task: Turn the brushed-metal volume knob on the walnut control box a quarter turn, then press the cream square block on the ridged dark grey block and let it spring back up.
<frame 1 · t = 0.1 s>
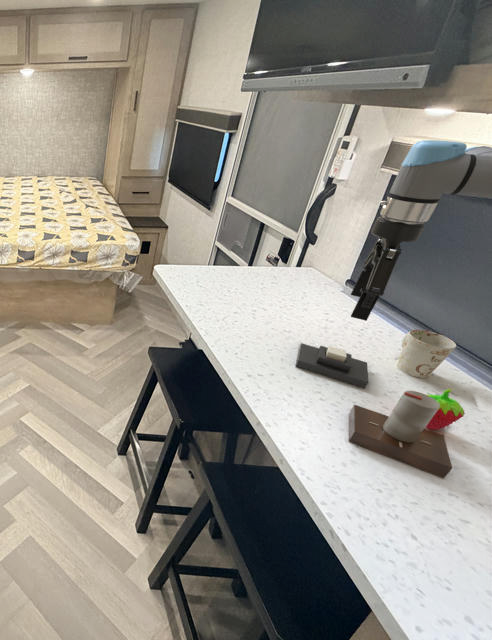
hand: (358, 306, 93), 19 cm above the worktop, tool pointing down, fingers open, 13 cm apart
mug: (406, 366, 104), on the worktop
strawberry: (424, 426, 86), on the worktop
cream square block: (336, 354, 101), point 4 cm above the worktop, slide at 0.1 cm
ridged dark grey block: (329, 368, 103), on the worktop
volume knob: (410, 416, 78), point 8 cm above the worktop, hinge at 0.0°
volume box: (391, 443, 82), on the worktop
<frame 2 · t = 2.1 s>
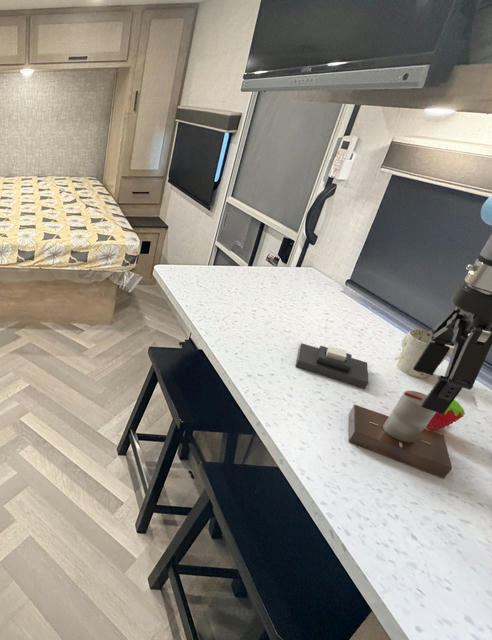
hand: (426, 389, 75), 14 cm above the worktop, tool pointing down, fingers open, 13 cm apart
nothing on the worktop moved.
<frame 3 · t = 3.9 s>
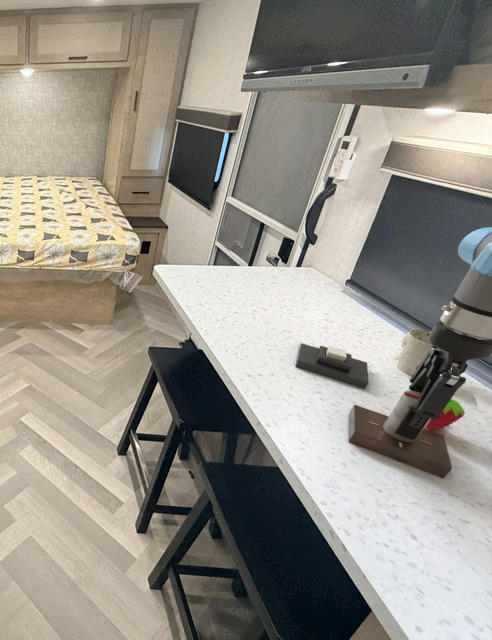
hand: (403, 426, 79), 5 cm above the worktop, tool pointing down, fingers closed on volume knob, 5 cm apart
volume knob: (410, 416, 78), point 8 cm above the worktop, hinge at -0.1°, touching gripper
everything else where it was.
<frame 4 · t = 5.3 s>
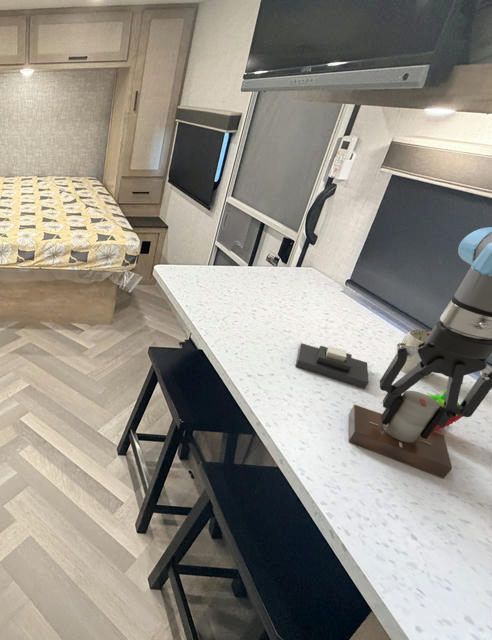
hand: (403, 426, 79), 5 cm above the worktop, tool pointing down, fingers closed on volume knob, 5 cm apart
volume knob: (410, 416, 78), point 8 cm above the worktop, hinge at 90.2°, touching gripper
everything else where it was.
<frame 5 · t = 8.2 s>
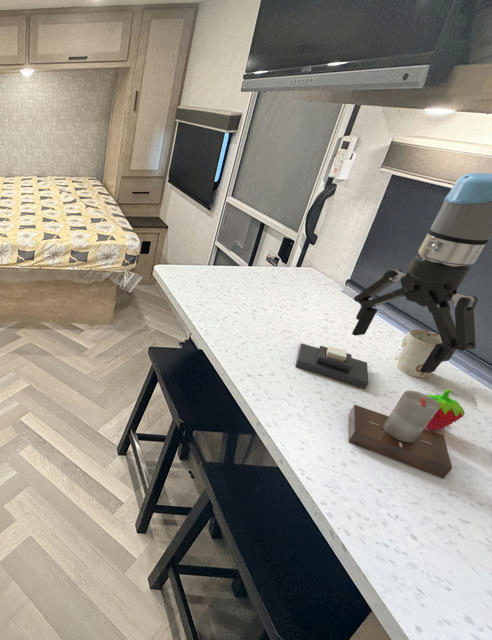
hand: (389, 351, 85), 15 cm above the worktop, tool pointing down, fingers open, 13 cm apart
volume knob: (410, 416, 78), point 8 cm above the worktop, hinge at 89.8°
everything else where it was.
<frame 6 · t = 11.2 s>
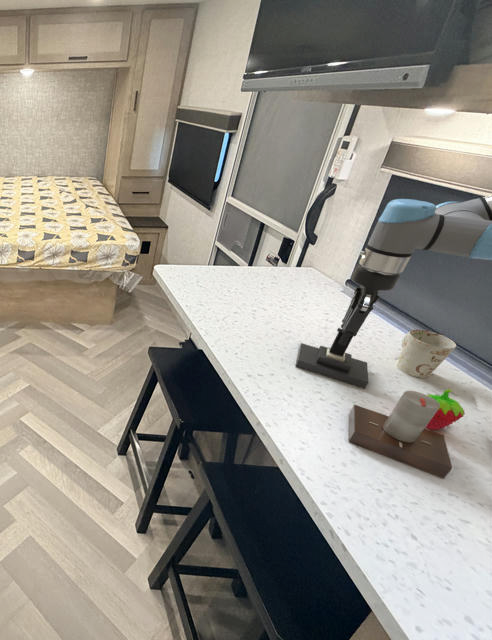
hand: (336, 352, 101), 5 cm above the worktop, tool pointing down, fingers closed
cream square block: (334, 356, 102), point 4 cm above the worktop, slide at -0.7 cm, touching gripper
everything else where it was.
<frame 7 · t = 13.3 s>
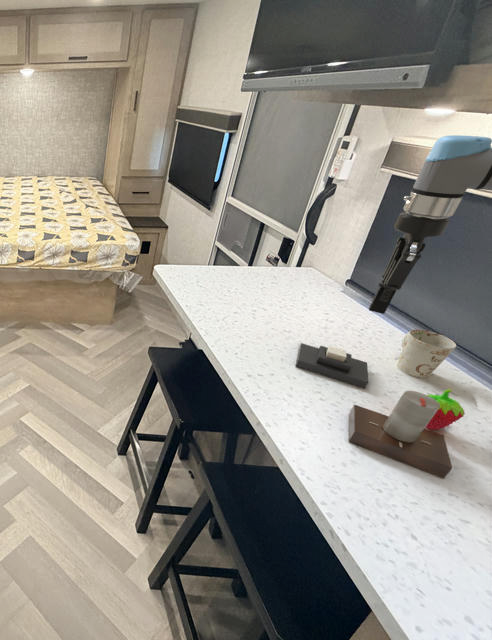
hand: (376, 310, 95), 18 cm above the worktop, tool pointing down, fingers closed
cream square block: (336, 354, 101), point 4 cm above the worktop, slide at 0.1 cm
everything else where it was.
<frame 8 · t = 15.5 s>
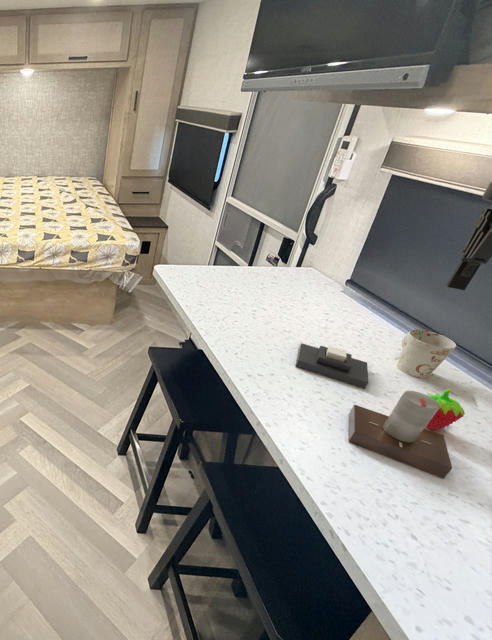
hand: (455, 287, 91), 24 cm above the worktop, tool pointing down, fingers closed
nothing on the worktop moved.
at the end: volume knob at +90° (first picture: +0°); cream square block pushed in 1.0 cm at the most during the clip, back to where it started at the end; cream square block slide at 0.1 cm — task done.
